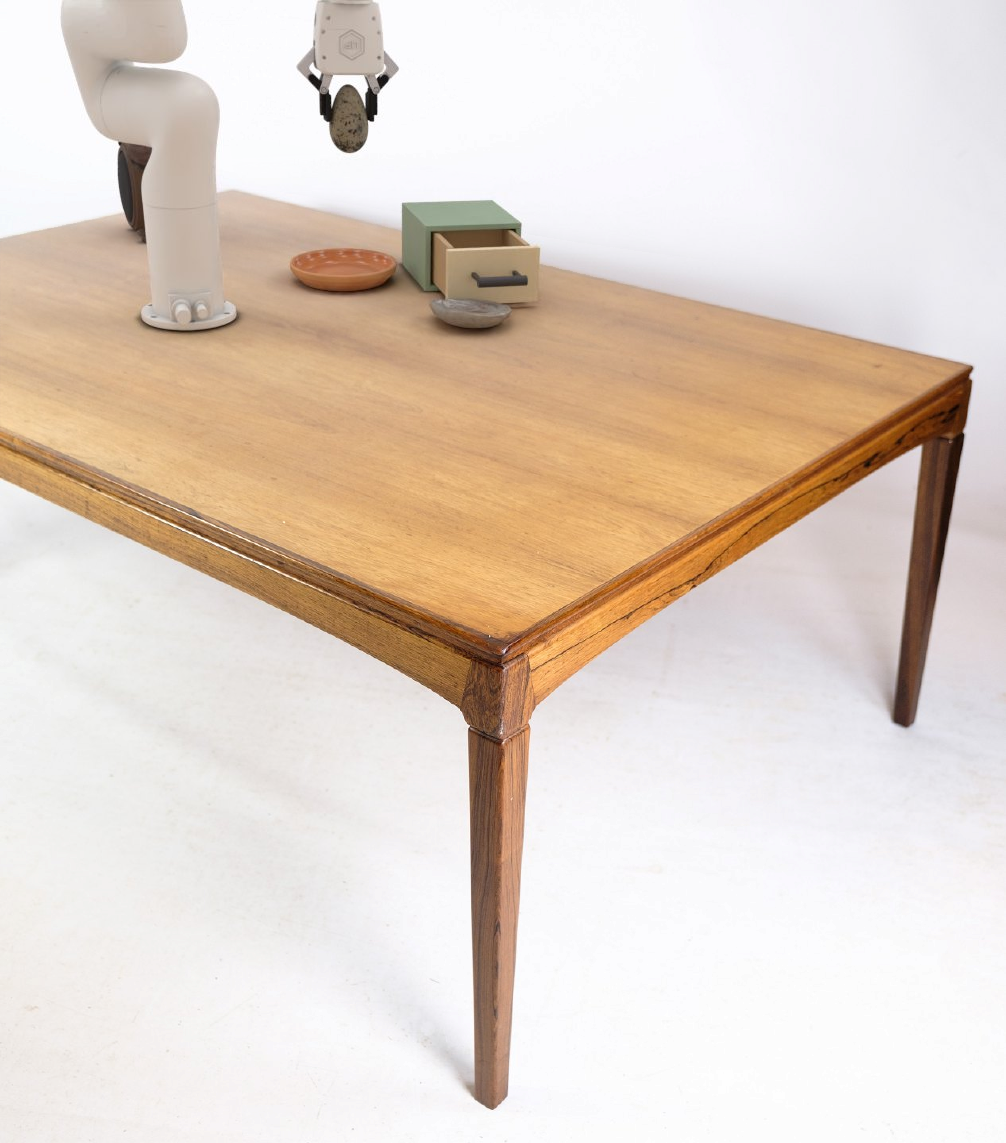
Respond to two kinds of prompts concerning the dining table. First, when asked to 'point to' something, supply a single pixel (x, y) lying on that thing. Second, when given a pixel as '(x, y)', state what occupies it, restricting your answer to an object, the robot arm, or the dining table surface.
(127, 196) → the alarm clock
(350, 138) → the decorative egg
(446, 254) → the drawer
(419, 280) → the cabinet
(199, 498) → the dining table surface
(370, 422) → the dining table surface
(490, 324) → the fossil
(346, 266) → the saucer
